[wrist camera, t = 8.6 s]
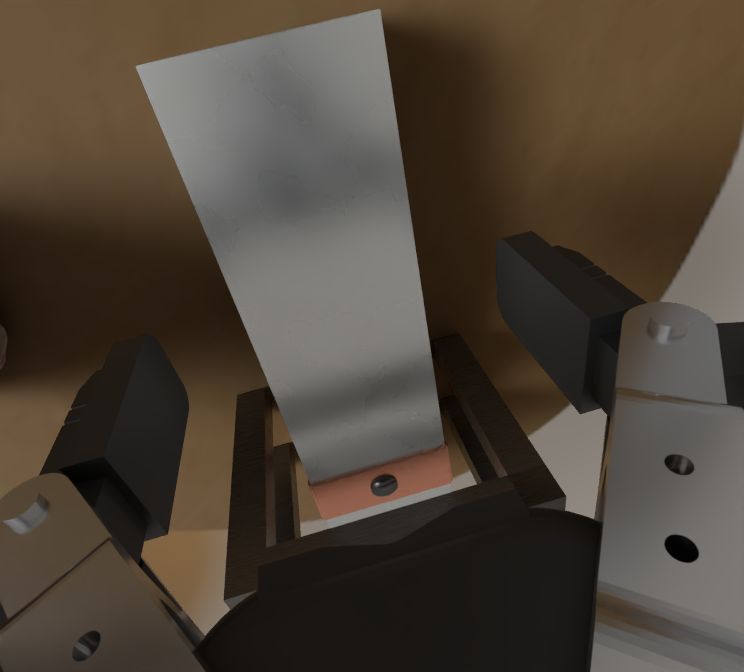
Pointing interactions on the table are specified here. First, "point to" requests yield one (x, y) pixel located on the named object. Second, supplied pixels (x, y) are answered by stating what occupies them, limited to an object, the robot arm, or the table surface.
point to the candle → (3, 346)
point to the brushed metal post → (316, 248)
